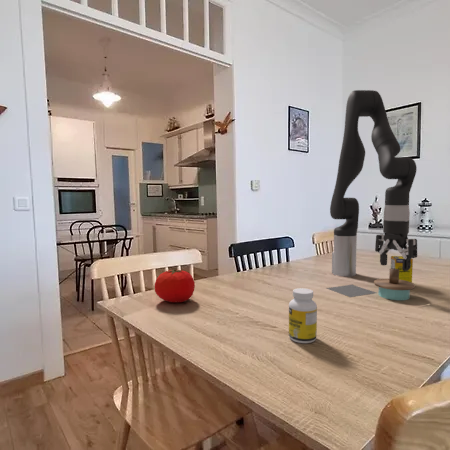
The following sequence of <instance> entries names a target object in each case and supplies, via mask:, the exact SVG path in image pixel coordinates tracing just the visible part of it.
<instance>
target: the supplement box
mask: <svg viewBox="0 0 450 450" xmlns="http://www.w3.org/2000/svg"><path fill="white" fill-rule="evenodd" d="M403 259H404V258H403V256H402V255H391V256H390V269H391V268H394V269H399V280H404V281H408V282H411V283H413V265H414V264H413V262H414V258H412V259H411V264H410V269H409V270H408V271H404V270H402V267H403Z"/></svg>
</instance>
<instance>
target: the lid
mask: <svg viewBox="0 0 450 450" xmlns="http://www.w3.org/2000/svg"><path fill="white" fill-rule="evenodd" d="M388 273H389V274H388V275H389V278H378V279H375V280H373V285H374V286H376V287H378V288H379V287H381V288H385V289H391V290H410V291H411V290H414V289H415V287H416V286H415V283H413V282H412V283H411V282H408V281H404V280H399V269H394V268H391V267H390V268H389V272H388Z"/></svg>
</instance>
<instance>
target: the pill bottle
mask: <svg viewBox="0 0 450 450" xmlns="http://www.w3.org/2000/svg"><path fill="white" fill-rule="evenodd" d="M292 297H293V299H291V300H290V301H289V303H288V337H289V339H290V340H291V341H293V342H295V343H297V344H298V343H299V344H311V343H313V342H315V341H316V339H317V336H318V335H317V334H318V333H317V327H318V324H317V323H318V306H317V305H318V304H317V303H316V301H314V300H313V298H314V291H313V289H310V288H305V287H304V288H303V287H301V288H300V287H299V288H294V289H293V290H292Z"/></svg>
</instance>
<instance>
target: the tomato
mask: <svg viewBox="0 0 450 450" xmlns="http://www.w3.org/2000/svg"><path fill="white" fill-rule="evenodd" d="M195 288H196V284H195V280H194V277H193V275H192V274H191V273H189V272H188V271H185V270H182V269H176V268H174V269H169V270H164V271H162V273H160V274H159V275H158V276H157V278H156V279H155V283H154V292H155V294H156V295H157V296H158V298H160V300H163V301H165V302H169V303H184V302H187V301H188V300H189V299H190V298H192V296H193V295H194V292H195Z"/></svg>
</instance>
